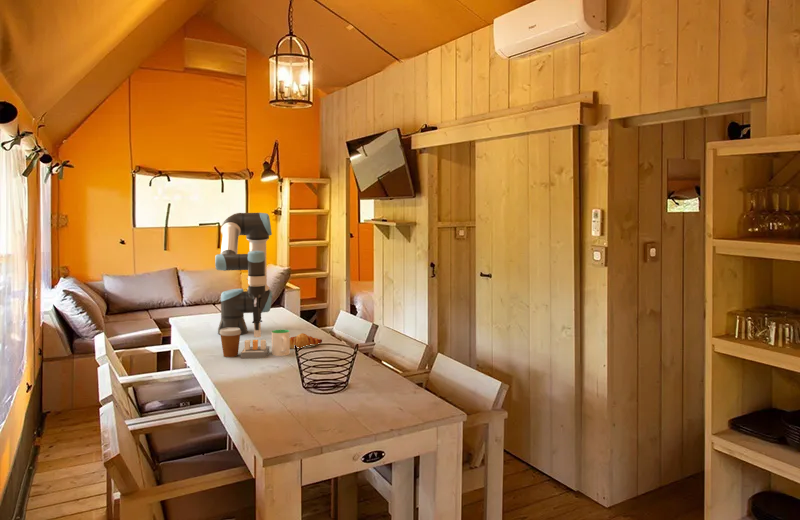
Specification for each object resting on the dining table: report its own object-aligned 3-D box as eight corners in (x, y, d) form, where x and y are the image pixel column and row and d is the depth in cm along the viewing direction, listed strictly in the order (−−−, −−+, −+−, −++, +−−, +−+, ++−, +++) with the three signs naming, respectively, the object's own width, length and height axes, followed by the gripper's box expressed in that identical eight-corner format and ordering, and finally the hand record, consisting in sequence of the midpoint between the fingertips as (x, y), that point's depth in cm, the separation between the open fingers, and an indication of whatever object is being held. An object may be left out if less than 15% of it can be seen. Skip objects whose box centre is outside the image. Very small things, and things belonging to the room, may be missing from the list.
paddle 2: (253, 348, 270) (253, 339, 270) (258, 348, 270) (258, 339, 270) (252, 349, 267) (252, 341, 267) (257, 349, 267) (257, 341, 267)
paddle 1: (245, 348, 270) (245, 339, 269) (250, 348, 270) (250, 339, 270) (244, 350, 267) (244, 341, 266) (249, 349, 267) (249, 341, 267)
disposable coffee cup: (235, 358, 262) (235, 331, 261) (215, 357, 264) (215, 330, 263) (245, 353, 272) (244, 327, 271) (226, 352, 273) (225, 326, 272)
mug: (295, 356, 267) (295, 333, 266) (278, 358, 263) (278, 335, 262) (286, 350, 277) (285, 328, 276) (269, 352, 273) (269, 330, 272)
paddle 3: (261, 348, 270) (261, 339, 270) (265, 348, 271) (265, 339, 270) (260, 349, 268) (260, 341, 267) (265, 349, 268) (265, 341, 267)
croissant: (278, 356, 280) (279, 343, 276) (276, 343, 288) (277, 330, 284) (323, 352, 287) (324, 340, 282) (319, 339, 295) (320, 326, 290)
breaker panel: (245, 352, 274) (245, 346, 274) (269, 351, 275) (269, 345, 275) (240, 358, 262) (240, 352, 262) (266, 358, 264) (266, 351, 263)
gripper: (250, 283, 272) (251, 333, 274) (245, 287, 260) (246, 340, 262) (266, 283, 273) (267, 333, 275) (263, 286, 260) (264, 339, 262)
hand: (257, 336), depth 268 cm, fingers closed
